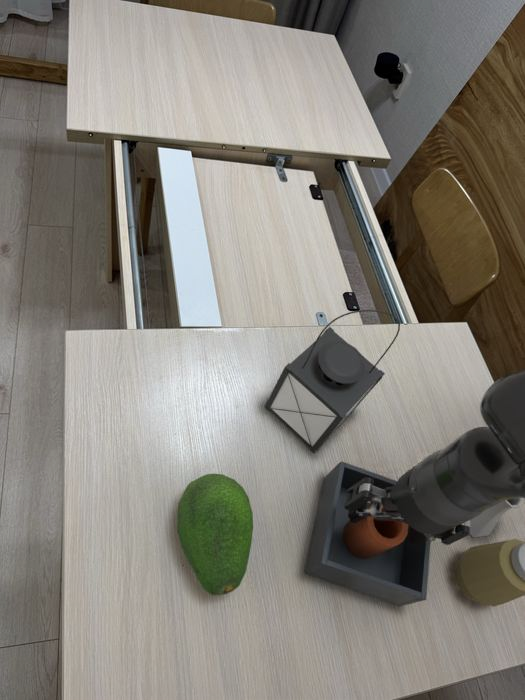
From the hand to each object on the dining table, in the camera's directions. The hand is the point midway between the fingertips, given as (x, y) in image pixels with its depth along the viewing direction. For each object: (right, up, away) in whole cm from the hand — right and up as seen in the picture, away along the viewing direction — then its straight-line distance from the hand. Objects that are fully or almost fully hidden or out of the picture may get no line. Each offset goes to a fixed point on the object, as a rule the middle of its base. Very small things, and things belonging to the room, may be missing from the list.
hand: (382, 526), depth 69 cm
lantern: (-8, +14, +17) cm, 23 cm away
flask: (+18, -3, +13) cm, 22 cm away
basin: (-2, -4, +7) cm, 8 cm away
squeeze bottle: (+15, -10, +7) cm, 20 cm away
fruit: (-23, -3, +2) cm, 24 cm away
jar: (-2, -4, +6) cm, 7 cm away
